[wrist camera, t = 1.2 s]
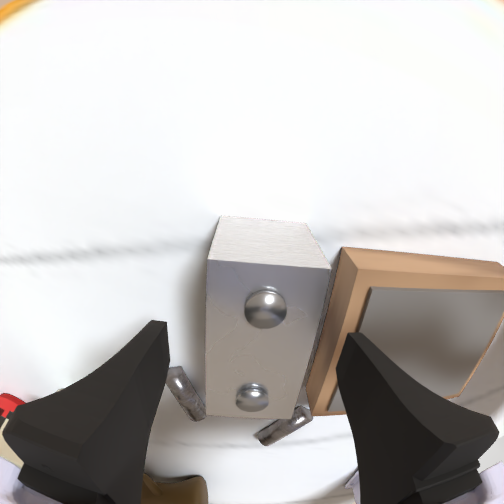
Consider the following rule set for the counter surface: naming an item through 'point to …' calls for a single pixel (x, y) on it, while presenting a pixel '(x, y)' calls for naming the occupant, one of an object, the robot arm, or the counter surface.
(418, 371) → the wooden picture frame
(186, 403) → the bolt
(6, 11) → the counter surface
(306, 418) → the bolt
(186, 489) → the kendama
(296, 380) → the block
